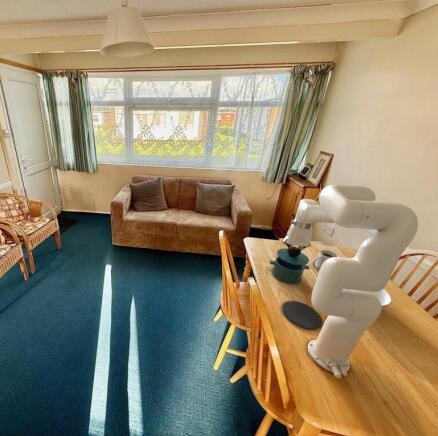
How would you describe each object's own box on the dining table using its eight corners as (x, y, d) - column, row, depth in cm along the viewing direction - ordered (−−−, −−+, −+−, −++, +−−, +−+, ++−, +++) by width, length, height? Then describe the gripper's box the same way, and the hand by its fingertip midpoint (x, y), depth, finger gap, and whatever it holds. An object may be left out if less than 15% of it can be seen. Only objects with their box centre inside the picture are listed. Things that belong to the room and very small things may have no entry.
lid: (313, 268, 113) (316, 257, 110) (280, 263, 116) (283, 253, 113) (302, 252, 126) (305, 242, 123) (273, 248, 129) (275, 239, 126)
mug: (332, 266, 133) (338, 252, 129) (333, 276, 126) (340, 261, 121) (310, 261, 138) (315, 247, 134) (310, 269, 131) (315, 255, 127)
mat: (327, 332, 94) (328, 331, 94) (287, 325, 97) (287, 324, 97) (313, 305, 107) (313, 304, 107) (278, 299, 110) (278, 298, 110)
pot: (309, 286, 118) (314, 273, 115) (269, 280, 123) (273, 268, 119) (300, 270, 130) (304, 258, 127) (264, 265, 135) (267, 253, 131)
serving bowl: (334, 307, 106) (339, 296, 103) (325, 279, 123) (329, 269, 120) (393, 323, 98) (401, 311, 95) (374, 291, 115) (380, 280, 112)
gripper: (286, 225, 111) (277, 256, 119) (324, 229, 107) (313, 261, 115) (282, 219, 117) (274, 249, 125) (318, 222, 114) (307, 253, 122)
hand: (292, 254), depth 120 cm, fingers closed on lid, 3 cm apart
